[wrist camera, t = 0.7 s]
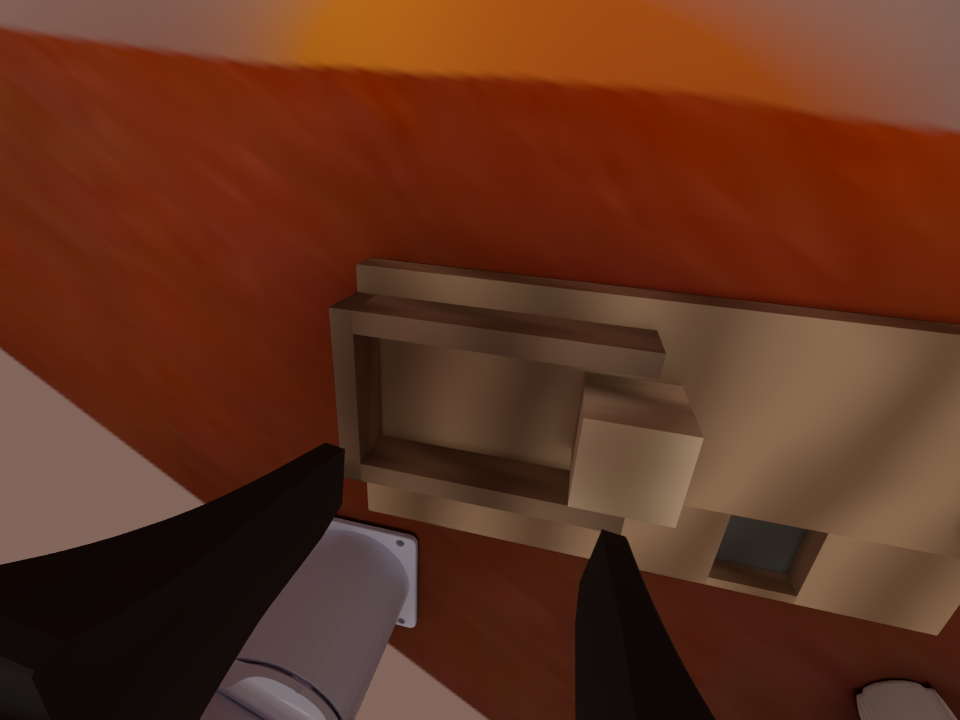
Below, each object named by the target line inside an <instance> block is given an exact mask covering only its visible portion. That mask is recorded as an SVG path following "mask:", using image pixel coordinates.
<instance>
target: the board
mask: <svg viewBox="0 0 960 720" xmlns="http://www.w3.org/2000/svg"><path fill="white" fill-rule="evenodd" d="M356 272H357V291H358V292H363V293H371V294H379V295H386V296H394V297H402V298H410V299H417V300H425V301H433V302H441V303H448V304H456V305H464V306H472V307H479V308H487V309H495V310H503V311H511V312H518V313H526V314H534V315H542V316H549V317H557V318H565V319H573V320H580V321H588V322H596V323H604V324H611V325H619V326H627V327H635V328H642V329H650V330H657V331H658V334H659V336H660V339H661V342H662V344H663V347H664V349H665V352H666V357H665V361H664V365H663V369H662V373H661V377H660V379H655V378H648V377H642V376H635V375H628V374H621V373H614V372H608V371H601V370H594V369H587V368H581V367H574V366H567V365H560V364H553V363H547V362H540V361H533V360H526V359H519V358H513V357H506V356H499V355H492V354H485V353H479V352H472V351H465V350H458V349H451V348H445V347H438V346H431V345H424V344H417V343H411V342H404V341H397V340H390V339H384V338H380V369H381V401H382V433H383V435H384V436H389V437H395V438H400V439H405V440H411V441H416V442H421V443H426V444H432V445H437V446H442V447H448V448H453V449H458V450H464V451H469V452H474V453H480V454H485V455H490V456H496V457H501V458H506V459H512V460H517V461H522V462H528V463H533V464H538V465H544V466H549V467H554V468H559V469H565V470H570V466H571V452H572V444H573V438H574V433H575V427H576V421H577V416H578V410H579V404H580V398H581V393H582V387H583V381H584V375H585V372H592V373H599V374H606V375H612V376H619V377H626V378H632V379H639V380H646V381H653V382H659V383H666V384H673V385H680V386H683V388H684V390H685V393H686V395H687V398H688V400H689V403H690V405H691V407H692V410H693V412H694V415H695V417H696V420H697V422H698V425H699V427H700V430H701V432H702V435H703V437H704V439H703V443H702V446H701V449H700V452H699V455H698V459H697V462H696V465H695V468H694V471H693V474H692V478H691V481H690V484H689V487H688V490H687V493H686V497H685V500H684V503H683V506H682V509H681V513H680V516H679V519H678V522H677V525H676V528H672V527H667V526H663V525H658V524H653V523H648V522H643V521H638V520H633V519H628V518H625V520H624V524H623V528H622V532H621V535H622V536H625V537H626V538H627V540H628V542H629V544H630V547H631V550H632V552H633V555H634V558H635V560H636V563H637V565H638V568H639V570H643V571H647V572H652V573H656V574H661V575H665V576H670V577H674V578H679V579H683V580H688V581H692V582H697V583H701V584H706V585H710V586H715V587H720V588H724V589H729V590H733V591H738V592H742V593H747V594H751V595H756V596H760V597H765V598H769V599H774V600H778V601H783V602H787V603H792V604H797V605H801V606H806V607H810V608H815V609H819V610H824V611H828V612H833V613H837V614H842V615H846V616H851V617H855V618H860V619H864V620H869V621H874V622H878V623H883V624H887V625H892V626H896V627H901V628H905V629H910V630H914V631H919V632H923V633H928V634H932V635H938V634H939V632H940V631H941V630H942V628H943V627H944V625H945V624H946V623H947V621H948V620H949V618H950V617H951V616H952V614H953V613H954V612H955V610H956V609H957V607H958V606H959V605H960V325H956V324H947V323H938V322H929V321H921V320H912V319H903V318H894V317H885V316H877V315H868V314H859V313H850V312H842V311H833V310H824V309H815V308H806V307H798V306H789V305H780V304H771V303H763V302H754V301H745V300H736V299H727V298H719V297H710V296H701V295H692V294H684V293H675V292H666V291H657V290H648V289H640V288H631V287H622V286H613V285H605V284H596V283H587V282H578V281H569V280H561V279H552V278H543V277H534V276H526V275H517V274H508V273H499V272H490V271H482V270H473V269H464V268H455V267H447V266H438V265H429V264H420V263H411V262H403V261H394V260H385V259H376V258H370V259H367V260H365V261H363V262H360V263H358V264H356ZM367 489H368V509H369V510H371V511H375V512H380V513H384V514H389V515H393V516H398V517H402V518H407V519H412V520H416V521H421V522H425V523H430V524H434V525H439V526H443V527H448V528H452V529H457V530H461V531H466V532H470V533H475V534H479V535H484V536H489V537H493V538H498V539H502V540H507V541H511V542H516V543H520V544H525V545H529V546H534V547H538V548H543V549H547V550H552V551H556V552H561V553H566V554H570V555H575V556H579V557H584V558H588V559H590V556H591V554H592V552H593V549H594V547H595V544H596V542H597V540H598V537H599V535H600V532H601V531H598V530H593V529H588V528H583V527H578V526H574V525H569V524H564V523H559V522H555V521H550V520H545V519H540V518H535V517H531V516H526V515H521V514H516V513H511V512H507V511H502V510H497V509H492V508H488V507H483V506H478V505H473V504H468V503H464V502H459V501H454V500H449V499H445V498H440V497H435V496H430V495H425V494H421V493H416V492H411V491H406V490H402V489H397V488H392V487H387V486H382V485H378V484H373V483H368V482H367Z"/></svg>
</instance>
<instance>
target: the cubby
mask: <svg viewBox="0 0 960 720" xmlns="http://www.w3.org/2000/svg"><path fill="white" fill-rule="evenodd" d="M329 317H330V330H331V342H332V355H333V368H334V381H335V393H336V406H337V419H338V432H339V444H340V447H341V448H344V449H345V462H344V478H349V479H354V480H359V481H363V482H368V483H373V484H378V485H382V486H387V487H392V488H397V489H402V490H406V491H411V492H416V493H421V494H425V495H430V496H435V497H440V498H445V499H449V500H454V501H459V502H464V503H468V504H473V505H478V506H483V507H488V508H492V509H497V510H502V511H507V512H511V513H516V514H521V515H526V516H531V517H535V518H540V519H545V520H550V521H555V522H559V523H564V524H569V525H574V526H578V527H583V528H588V529H593V530H598V531H601V530H602V529H603V530H606V531H609V532H613V533H616V534H619V535H621V532H622V528H623V524H624V520H625V518H623V517H618V516H613V515H608V514H603V513H598V512H593V511H588V510H583V509H578V508H573V507H569V506H568V493H569V479H570V470H565V469H559V468H554V467H549V466H544V465H538V464H533V463H528V462H522V461H517V460H512V459H506V458H501V457H496V456H490V455H485V454H480V453H474V452H469V451H464V450H458V449H453V448H448V447H442V446H437V445H432V444H426V443H421V442H416V441H411V440H405V439H400V438H395V437H389V436H384V435H383V433H382V401H381V369H380V338H384V339H390V340H397V341H404V342H411V343H417V344H424V345H431V346H438V347H445V348H451V349H458V350H465V351H472V352H479V353H485V354H492V355H499V356H506V357H513V358H519V359H526V360H533V361H540V362H547V363H553V364H560V365H567V366H574V367H581V368H587V369H594V370H601V371H608V372H614V373H621V374H628V375H635V376H642V377H648V378H655V379H660V377H661V373H662V369H663V365H664V361H665V357H666V352H665V349H664V347H663V344H662V342H661V339H660V336H659V334H658V331H657V330H650V329H642V328H635V327H627V326H619V325H611V324H604V323H596V322H588V321H580V320H573V319H565V318H557V317H549V316H542V315H534V314H526V313H518V312H511V311H503V310H495V309H487V308H479V307H472V306H464V305H456V304H448V303H441V302H433V301H425V300H417V299H410V298H402V297H394V296H386V295H379V294H371V293H363V292H356V293H354V294H353V295H351V296H349V297H347V298H345V299H343V300H342V301H340V302H338V303H336V304H334V305H332V306H331V307H329Z"/></svg>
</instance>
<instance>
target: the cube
mask: <svg viewBox="0 0 960 720" xmlns="http://www.w3.org/2000/svg"><path fill="white" fill-rule="evenodd" d="M703 439H704V437H703V435H702V432H701V430H700V427H699V425H698V422H697V420H696V417H695V415H694V412H693V410H692V407H691V405H690V403H689V400H688V398H687V395H686V393H685V390H684V388H683V386H680V385H673V384H666V383H659V382H653V381H646V380H639V379H632V378H626V377H619V376H612V375H606V374H599V373H592V372H585V375H584V381H583V387H582V393H581V398H580V404H579V410H578V416H577V421H576V427H575V433H574V438H573V444H572V452H571V466H570V479H569V493H568V506H569V507H573V508H578V509H583V510H588V511H593V512H598V513H603V514H608V515H613V516H618V517H623V518H628V519H633V520H638V521H643V522H648V523H653V524H658V525H663V526H667V527H672V528H676V525H677V522H678V519H679V516H680V513H681V509H682V506H683V503H684V500H685V497H686V493H687V490H688V487H689V484H690V481H691V478H692V474H693V471H694V468H695V465H696V462H697V459H698V455H699V452H700V449H701V446H702V443H703Z"/></svg>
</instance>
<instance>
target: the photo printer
mask: <svg viewBox="0 0 960 720" xmlns="http://www.w3.org/2000/svg"><path fill="white" fill-rule="evenodd" d="M857 707H858V711H859V715H860V718H861V720H957V719H956V717H955V716H954V714H953V713H952V711H951V710H950V709H949V707H948V706H947V705H946V703H945V702H944V701H943V699H942V698H941V697H940V696H939V695H938V693H937V692H936V691H935V690H934V689H932V688H924V687H923V686H921V685H920V684H918V683H916V682H910V681H902V680H889V681H881V682H877V683H873V684H871V685H868V686H866V687H864V689H863V692H862V693H861V694H857Z"/></svg>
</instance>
